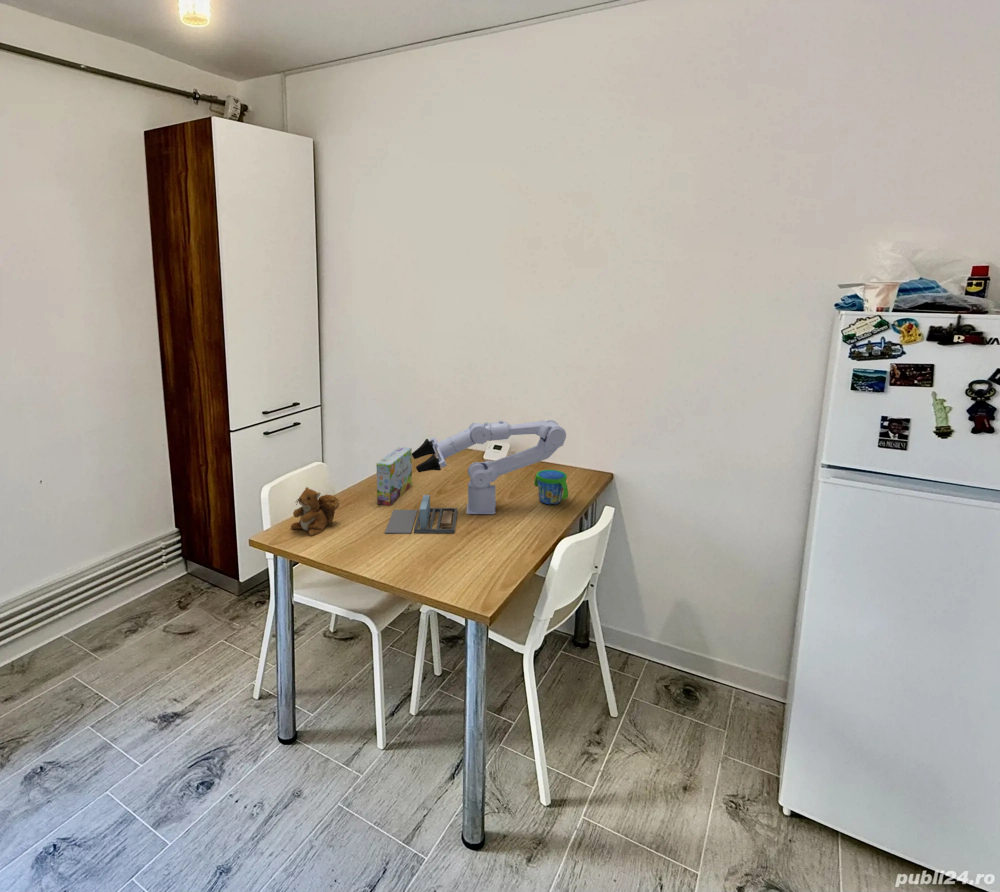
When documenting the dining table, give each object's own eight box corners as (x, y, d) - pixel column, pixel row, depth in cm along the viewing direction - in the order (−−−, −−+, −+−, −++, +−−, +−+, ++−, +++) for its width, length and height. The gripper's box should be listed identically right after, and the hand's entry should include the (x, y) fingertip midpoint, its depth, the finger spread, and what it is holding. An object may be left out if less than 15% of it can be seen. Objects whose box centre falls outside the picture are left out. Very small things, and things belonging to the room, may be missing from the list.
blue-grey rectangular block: (430, 514, 196) (429, 495, 194) (426, 530, 184) (426, 509, 182) (424, 514, 196) (423, 495, 194) (420, 530, 184) (419, 509, 182)
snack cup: (575, 506, 205) (577, 478, 202) (550, 512, 200) (551, 483, 197) (550, 491, 218) (551, 465, 215) (525, 496, 212) (526, 469, 210)
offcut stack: (452, 514, 196) (452, 509, 196) (450, 529, 185) (450, 523, 184) (443, 514, 196) (443, 508, 195) (441, 529, 185) (440, 523, 184)
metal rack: (457, 511, 199) (457, 508, 198) (454, 533, 182) (454, 530, 182) (420, 511, 198) (420, 507, 198) (413, 533, 182) (413, 529, 181)
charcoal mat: (417, 510, 199) (417, 509, 199) (410, 533, 181) (410, 532, 181) (393, 510, 199) (393, 509, 198) (384, 533, 181) (384, 532, 181)
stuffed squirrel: (288, 529, 183) (284, 489, 180) (327, 516, 194) (324, 478, 190) (306, 538, 177) (302, 497, 173) (345, 524, 188) (343, 485, 184)
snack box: (392, 506, 202) (390, 464, 198) (376, 504, 203) (374, 463, 199) (413, 485, 222) (412, 446, 218) (399, 484, 223) (397, 445, 219)
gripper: (443, 424, 195) (406, 441, 195) (453, 448, 184) (414, 467, 183) (451, 439, 200) (414, 457, 199) (461, 464, 188) (423, 482, 188)
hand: (414, 463), depth 191 cm, fingers open, 7 cm apart
